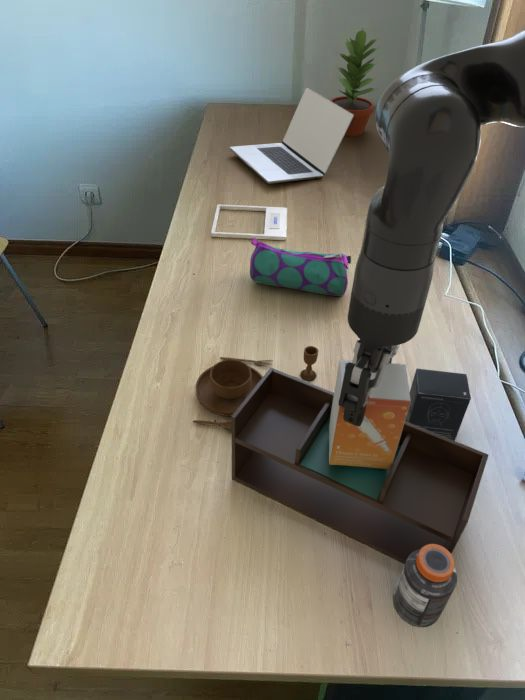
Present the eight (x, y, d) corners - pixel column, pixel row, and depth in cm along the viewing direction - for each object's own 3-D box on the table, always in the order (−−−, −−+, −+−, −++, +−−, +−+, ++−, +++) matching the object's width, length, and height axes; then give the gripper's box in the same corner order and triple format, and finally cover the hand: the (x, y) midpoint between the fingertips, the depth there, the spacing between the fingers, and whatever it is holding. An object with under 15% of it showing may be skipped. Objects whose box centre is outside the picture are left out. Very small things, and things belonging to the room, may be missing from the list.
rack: (459, 515, 80) (488, 454, 71) (438, 580, 73) (467, 522, 63) (267, 430, 91) (270, 367, 81) (231, 479, 83) (231, 416, 74)
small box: (328, 466, 72) (339, 395, 63) (328, 428, 77) (338, 357, 68) (392, 471, 72) (412, 400, 63) (387, 432, 76) (405, 362, 68)
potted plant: (331, 139, 183) (343, 36, 163) (323, 122, 194) (333, 24, 174) (376, 139, 184) (393, 37, 164) (365, 122, 195) (380, 25, 175)
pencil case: (347, 281, 123) (354, 243, 116) (344, 305, 116) (350, 266, 110) (254, 268, 125) (255, 230, 119) (245, 291, 119) (246, 251, 113)
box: (450, 418, 94) (467, 373, 87) (453, 445, 90) (472, 399, 83) (402, 412, 94) (416, 366, 87) (403, 438, 90) (418, 392, 83)
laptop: (229, 150, 170) (233, 88, 159) (298, 144, 180) (306, 86, 169) (267, 185, 153) (275, 119, 142) (341, 176, 163) (354, 114, 152)
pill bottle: (435, 582, 73) (458, 536, 65) (444, 630, 68) (470, 586, 61) (388, 580, 73) (406, 533, 65) (395, 627, 68) (415, 583, 61)
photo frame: (286, 236, 134) (211, 232, 134) (286, 240, 135) (211, 236, 135) (287, 207, 145) (217, 203, 145) (286, 210, 146) (217, 207, 146)
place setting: (209, 354, 104) (208, 329, 100) (317, 368, 102) (320, 344, 98) (184, 425, 91) (181, 400, 87) (307, 443, 89) (310, 419, 85)
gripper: (403, 340, 51) (374, 452, 62) (445, 266, 61) (413, 374, 71) (327, 314, 54) (312, 426, 64) (379, 247, 63) (358, 354, 74)
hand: (365, 398), depth 68 cm, fingers closed on small box, 8 cm apart
